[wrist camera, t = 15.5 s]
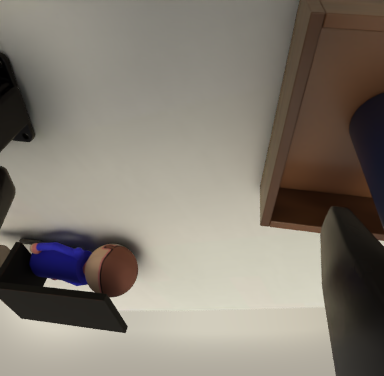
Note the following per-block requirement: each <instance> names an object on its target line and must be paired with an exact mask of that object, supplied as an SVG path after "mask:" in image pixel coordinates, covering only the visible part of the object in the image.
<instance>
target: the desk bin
mask: <svg viewBox="0 0 384 376" xmlns="http://www.w3.org/2000/svg"><path fill="white" fill-rule="evenodd" d="M382 93H384V0H300V1H299V6H298V11H297V15H296V20H295V25H294V29H293V34H292V39H291V44H290V48H289V53H288V58H287V62H286V67H285V72H284V77H283V81H282V86H281V91H280V95H279V100H278V105H277V109H276V114H275V119H274V124H273V128H272V133H271V138H270V142H269V147H268V152H267V157H266V161H265V166H264V171H263V175H262V180H261V185H260V225H261V226H270V227H276V228H284V229H292V230H300V231H308V232H316V233H321V227H322V225H323V222H324V220H325V218H326V215H327V213H328V211H329V209H330V207H332V206H340V207H347V208H349V209H350V210H351V211H352V212H353V213H354V214H355V216H356V217H357V218H358V219H359V220H360V221H361V222H362V223H363V224H364V225H365V226H366V228H367V229H368V230H369V231H370V232H371V233H372V234H373V235H374V236H375V237H376V239H377V240H381V241H384V229H383V226H382V223H381V220H380V218H379V215H378V212H377V209H376V206H375V204H374V201H373V198H372V195H371V193H370V190H369V187H368V184H367V181H366V179H365V176H364V173H363V170H362V168H361V165H360V162H359V159H358V156H357V154H356V151H355V148H354V145H353V143H352V140H351V137H350V133H349V126H350V122H351V119H352V117H353V115H354V114H355V112H356V111H357V110H358V108H359V107H360V106H361V105H362V104H364V103H365V102H366V101H368V100H369V99H371V98H372V97H374V96H377V95H379V94H382Z"/></svg>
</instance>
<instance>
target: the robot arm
mask: <svg viewBox="0 0 384 376" xmlns="http://www.w3.org/2000/svg"><path fill="white" fill-rule="evenodd" d="M0 61H1V62H2V64H1V63H0V152H1V151H2V150H3V149H4V148H5V147H6V146H7V145H8V144H9V143H10V141H11V140H13V141H23V142H30V141H32V140H33V139H34V137H35V134H34V131H33V128H32V125H31V123H30V119H29V116H28V113H27V110H26V107H25V104H24V102H23V99H22V96H21V93H20V90H19V88H18V85H17V82H16V80H15V77H14V74H13V71H12V68H11V65H10V62H9V60H8V58H7V57H6V56H5V55H4V54H2V53H0ZM26 134H27V135H28V136H27V135H26ZM14 196H15V186H14V184H13V182H12V180H11V178H10V175H9V173H8V171H7V169H6V168H4V167H2V166H0V228H1V226H2V224H3V222H4V219H5V217H6V215H7V212H8V210H9V208H10V206H11V203H12V201H13V199H14ZM320 237H321V269H322V289H323V296H324V303H325V309H326V315H327V322H328V328H329V334H330V341H331V347H332V353H333V360H334V366H335V372H336V376H384V246H383V245H382V244H381V243H380V242H379V241H378V240H377V239H376V237H375V236H374V235H373V234H372V233H371V232H370V231H369V230H368V229H367V228H366V226H365V225H364V224H363V223H362V222H361V221H360V220H359V219H358V218H357V217H356V216H355V214H354V213H353V212H352V211H351V210H350V209H349V208H347V207H340V206H332V207H330V209H329V211H328V213H327V215H326V218H325V220H324V222H323V225H322V227H321V234H320Z"/></svg>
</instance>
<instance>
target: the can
mask: <svg viewBox="0 0 384 376" xmlns="http://www.w3.org/2000/svg"><path fill="white" fill-rule="evenodd" d="M349 133H350V137H351V140H352V143H353V145H354V148H355V151H356V154H357V156H358V159H359V162H360V165H361V168H362V170H363V173H364V176H365V179H366V181H367V184H368V187H369V190H370V193H371V195H372V198H373V201H374V204H375V206H376V209H377V212H378V215H379V218H380V220H381V223H382V226H383V229H384V93H382V94H379V95H377V96H374V97H372V98H371V99H369V100H368V101H366V102H365V103H364V104H362V105H361V106H360V107H359V108H358V110H357V111H356V112H355V114H354V115H353V117H352V119H351V122H350V126H349Z"/></svg>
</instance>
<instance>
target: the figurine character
mask: <svg viewBox="0 0 384 376" xmlns="http://www.w3.org/2000/svg"><path fill="white" fill-rule="evenodd" d="M19 241H20V242H16V243H15V244H14V246H13V248H12V249H11V250H10V249H9V248H8V247H7V246H4V245H0V299H1V300H2V301H3V302H4V303H5V304H6V305H7V306H8V307H10V308H11V309H12V310H13V311H14V312H15V313H16V314H17V315H18V316H20V318H22V319H29V320H37V321H44V322H51V323H58V324H65V325H72V326H79V327H86V328H93V329H100V330H108V331H115V332H122V333H126V330H127V325H126V323H125V322H124V320H123V318H122V317H121V315H120V314H119V312H118V311H117V309H116V307H115V306H114V304H113V303H112V301H111V300H110V298H109V297H117V296H120V295H122V294H124V293H126V292H127V291H128V290H129V289H130V288H131V287H132V286H133V284H134V283H135V281H136V278H137V275H138V264H137V261H136V258H135V256H134V255H133V253H132V252H131V251H130V250H129V249H127V248H126V247H124V246H122V245H118V244H107V245H104V246H101V247H99V248H98V249H96V250H95V251H94V252H93V253H92V252H90V251H87V250H83V249H82V248H75V249H74V248H71V247H68V246H66V245H63V244H60V243H58V242H49V243H43V242H42V241H39V240H30V239H20V240H19ZM22 243H23V244H31V247H30V251H31V252H32V254H31V253H30V252H29V251H28V250H27V249H26V247H25V246H24V245H23V244H22ZM47 278H51V279H52V280H57V279H58V280H63V281H65V282H68V283H71V284H73V285H76V286H80V285H87V284H88V285H89V287H90V288H91V289H92V290H93V291H94V292H95V293H94V292H85V291H76V290H67V289H58V288H49V287H43V285H44V283H45V281H46V279H47Z"/></svg>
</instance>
